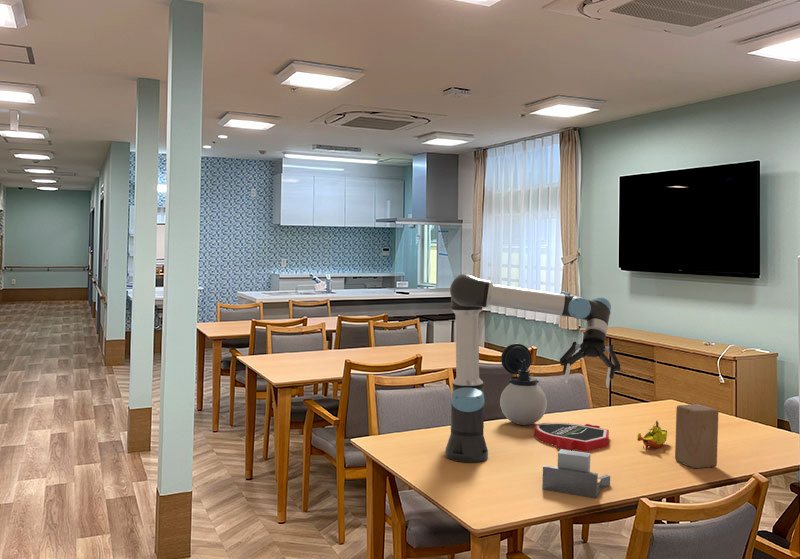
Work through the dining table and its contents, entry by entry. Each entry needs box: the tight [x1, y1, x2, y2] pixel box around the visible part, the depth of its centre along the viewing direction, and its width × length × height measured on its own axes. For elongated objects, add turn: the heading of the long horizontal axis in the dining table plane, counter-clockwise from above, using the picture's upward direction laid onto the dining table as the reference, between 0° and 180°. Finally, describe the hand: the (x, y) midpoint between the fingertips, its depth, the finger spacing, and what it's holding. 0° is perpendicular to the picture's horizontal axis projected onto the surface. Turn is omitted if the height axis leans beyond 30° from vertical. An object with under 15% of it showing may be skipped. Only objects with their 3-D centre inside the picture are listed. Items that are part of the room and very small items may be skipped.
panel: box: [557, 449, 591, 472], centre depth 197 cm, size 4×9×11 cm, turn 64°
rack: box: [541, 464, 611, 499], centre depth 199 cm, size 14×20×7 cm
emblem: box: [533, 422, 610, 452], centre depth 253 cm, size 30×4×30 cm
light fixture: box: [499, 343, 548, 426], centre depth 276 cm, size 20×23×33 cm
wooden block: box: [674, 403, 719, 469], centre depth 223 cm, size 10×10×20 cm
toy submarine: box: [636, 420, 668, 452], centre depth 244 cm, size 6×18×10 cm, turn 135°
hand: (586, 383), depth 215 cm, fingers open, 13 cm apart
